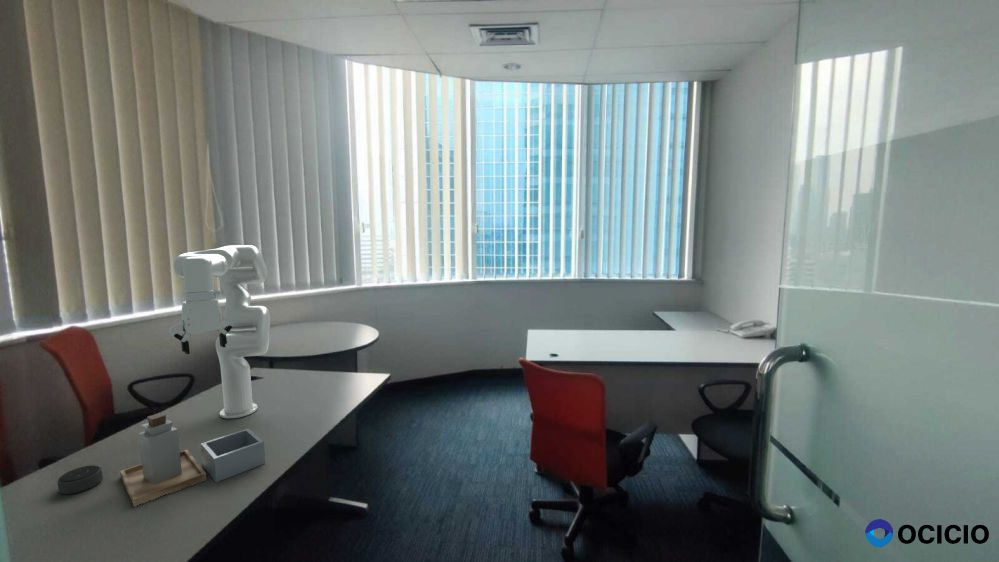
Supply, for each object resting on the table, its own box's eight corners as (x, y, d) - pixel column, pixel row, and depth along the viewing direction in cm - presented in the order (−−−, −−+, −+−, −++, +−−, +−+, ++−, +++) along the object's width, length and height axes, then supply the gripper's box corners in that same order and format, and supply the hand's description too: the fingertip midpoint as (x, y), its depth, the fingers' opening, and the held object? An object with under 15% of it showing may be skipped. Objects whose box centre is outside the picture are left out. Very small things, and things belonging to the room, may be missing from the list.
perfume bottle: (181, 473, 125) (175, 414, 123) (154, 485, 119) (147, 423, 117) (171, 466, 128) (165, 409, 126) (143, 477, 123) (136, 417, 120)
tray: (120, 477, 124) (120, 470, 124) (187, 455, 136) (186, 449, 136) (134, 506, 111) (133, 499, 111) (206, 479, 123) (205, 473, 123)
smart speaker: (62, 484, 121) (60, 470, 121) (105, 473, 126) (103, 460, 126) (55, 500, 114) (53, 486, 114) (100, 488, 119) (98, 474, 119)
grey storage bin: (202, 465, 130) (200, 443, 129) (249, 448, 140) (248, 428, 139) (216, 482, 122) (214, 458, 121) (265, 463, 132) (263, 441, 131)
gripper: (228, 291, 142) (232, 342, 145) (162, 298, 129) (168, 353, 132) (235, 294, 137) (240, 346, 140) (169, 301, 124) (174, 358, 127)
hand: (205, 349), depth 136 cm, fingers open, 9 cm apart
